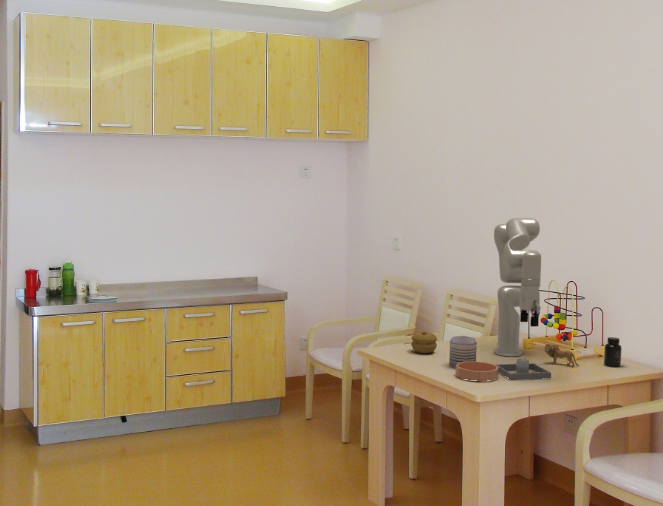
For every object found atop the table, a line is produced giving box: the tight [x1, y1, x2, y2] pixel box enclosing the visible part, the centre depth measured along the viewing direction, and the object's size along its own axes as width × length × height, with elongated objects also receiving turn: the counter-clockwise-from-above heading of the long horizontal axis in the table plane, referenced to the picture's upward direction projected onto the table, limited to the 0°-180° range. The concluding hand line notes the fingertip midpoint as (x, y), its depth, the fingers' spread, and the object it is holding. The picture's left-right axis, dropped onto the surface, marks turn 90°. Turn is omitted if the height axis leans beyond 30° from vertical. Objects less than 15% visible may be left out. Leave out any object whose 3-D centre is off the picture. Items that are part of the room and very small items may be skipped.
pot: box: [410, 330, 438, 354], centre depth 344 cm, size 12×12×10 cm
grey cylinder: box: [515, 358, 530, 373], centre depth 307 cm, size 5×5×6 cm
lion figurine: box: [544, 343, 580, 368], centre depth 324 cm, size 15×5×9 cm, turn 66°
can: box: [448, 335, 478, 369], centre depth 319 cm, size 11×11×12 cm
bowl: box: [455, 360, 500, 381], centre depth 303 cm, size 17×17×4 cm
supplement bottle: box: [603, 336, 623, 368], centre depth 324 cm, size 7×7×12 cm
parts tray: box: [494, 362, 552, 380], centre depth 307 cm, size 16×18×2 cm
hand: (529, 324), depth 306 cm, fingers open, 9 cm apart
